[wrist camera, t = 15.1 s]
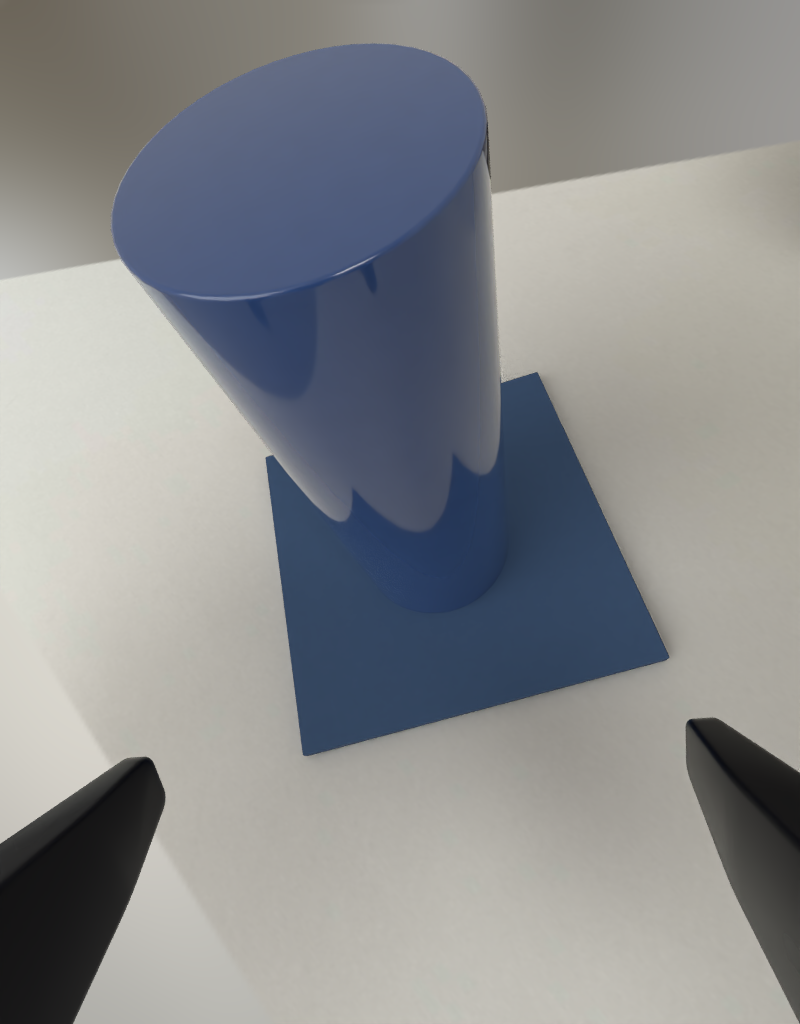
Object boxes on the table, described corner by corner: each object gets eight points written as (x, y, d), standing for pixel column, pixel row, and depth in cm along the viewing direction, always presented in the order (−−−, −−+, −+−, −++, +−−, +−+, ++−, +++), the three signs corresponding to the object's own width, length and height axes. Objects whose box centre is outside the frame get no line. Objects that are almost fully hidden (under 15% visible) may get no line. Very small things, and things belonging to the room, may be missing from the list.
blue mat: (307, 756, 18) (302, 756, 17) (269, 461, 23) (264, 457, 23) (667, 660, 17) (670, 657, 16) (537, 377, 22) (537, 371, 22)
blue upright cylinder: (510, 615, 18) (487, 267, 6) (356, 612, 19) (54, 320, 7) (507, 474, 20) (487, 9, 8) (370, 480, 21) (164, 81, 9)
